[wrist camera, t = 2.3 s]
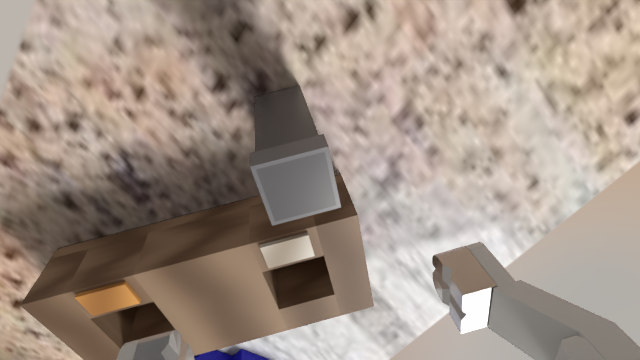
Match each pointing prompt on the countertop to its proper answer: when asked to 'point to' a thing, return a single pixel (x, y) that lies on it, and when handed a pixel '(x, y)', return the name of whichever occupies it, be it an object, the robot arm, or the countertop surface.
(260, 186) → the plug
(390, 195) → the countertop surface
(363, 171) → the countertop surface
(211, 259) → the socket block
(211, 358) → the cable clip
